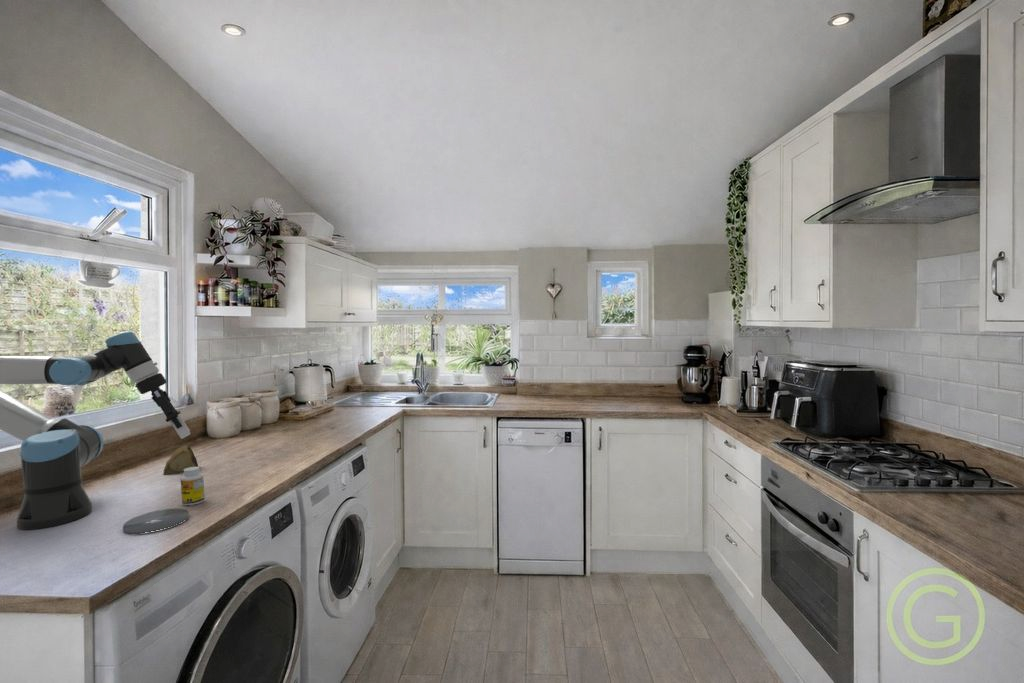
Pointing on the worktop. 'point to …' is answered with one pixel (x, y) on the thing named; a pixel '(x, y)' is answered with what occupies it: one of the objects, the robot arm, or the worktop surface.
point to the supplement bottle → (192, 486)
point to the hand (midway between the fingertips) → (186, 434)
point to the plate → (155, 520)
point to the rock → (180, 460)
